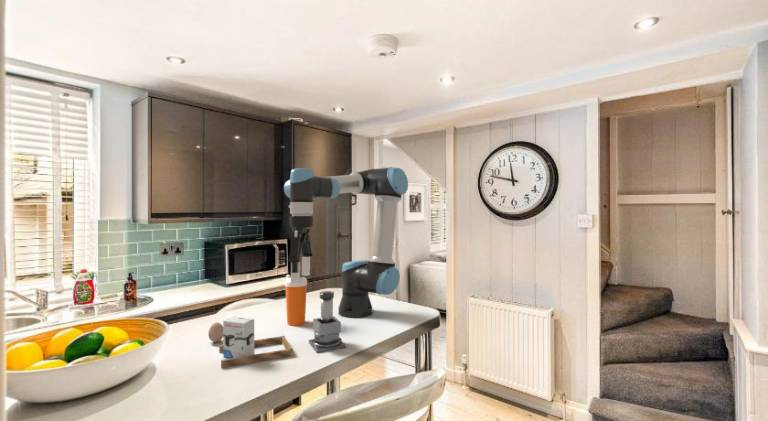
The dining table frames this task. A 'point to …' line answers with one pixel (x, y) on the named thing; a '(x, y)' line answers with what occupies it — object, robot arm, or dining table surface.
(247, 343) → the ink box
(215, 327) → the egg
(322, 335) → the peg socket
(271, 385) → the dining table surface
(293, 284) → the shaker bottle
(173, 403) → the dining table surface
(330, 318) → the handle peg
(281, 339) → the bay
